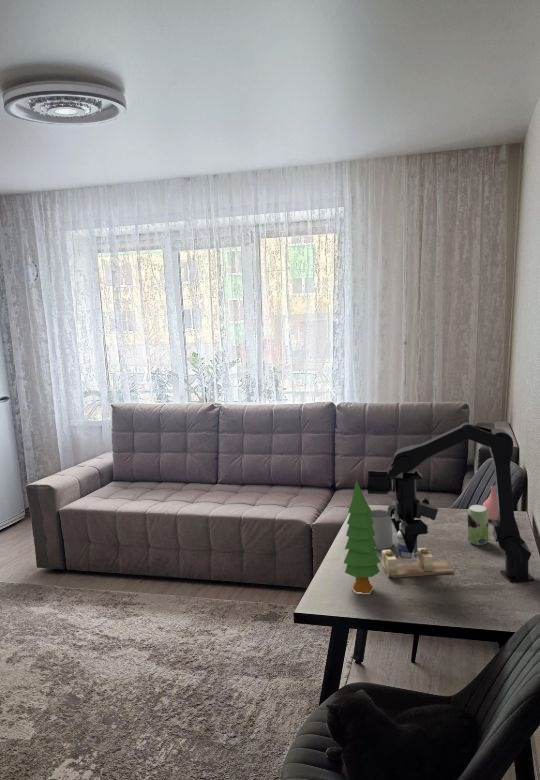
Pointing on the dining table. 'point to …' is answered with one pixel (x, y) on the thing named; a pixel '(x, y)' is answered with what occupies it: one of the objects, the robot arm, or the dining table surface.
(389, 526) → the cup
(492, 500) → the perfume bottle
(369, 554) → the decorative tree
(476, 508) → the beverage can
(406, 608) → the dining table surface
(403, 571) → the wooden cradle stand
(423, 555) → the jaw
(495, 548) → the dining table surface
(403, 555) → the pill bottle
